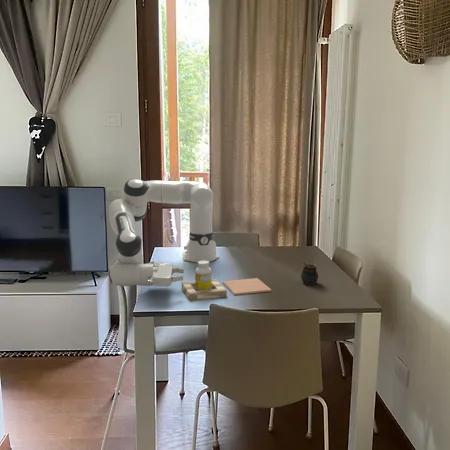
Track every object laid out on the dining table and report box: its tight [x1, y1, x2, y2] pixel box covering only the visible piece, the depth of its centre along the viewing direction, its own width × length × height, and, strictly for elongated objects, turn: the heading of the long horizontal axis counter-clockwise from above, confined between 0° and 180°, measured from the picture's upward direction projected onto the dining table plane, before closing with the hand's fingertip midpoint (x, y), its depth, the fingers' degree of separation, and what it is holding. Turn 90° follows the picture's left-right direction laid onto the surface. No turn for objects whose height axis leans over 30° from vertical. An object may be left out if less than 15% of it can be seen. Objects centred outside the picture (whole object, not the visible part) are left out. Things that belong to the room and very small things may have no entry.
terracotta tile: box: [222, 277, 272, 296], centre depth 199 cm, size 16×16×1 cm
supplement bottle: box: [194, 261, 213, 291], centre depth 192 cm, size 7×7×13 cm
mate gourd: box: [300, 262, 319, 285], centre depth 204 cm, size 7×8×10 cm
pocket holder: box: [181, 278, 228, 301], centre depth 193 cm, size 15×15×2 cm
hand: (183, 274), depth 191 cm, fingers open, 8 cm apart
